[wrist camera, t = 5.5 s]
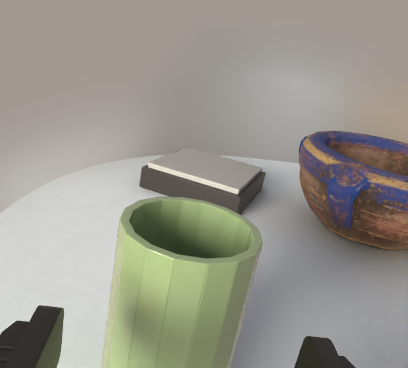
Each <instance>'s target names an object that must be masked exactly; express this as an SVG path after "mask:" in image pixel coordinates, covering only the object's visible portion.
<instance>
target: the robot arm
mask: <svg viewBox="0 0 408 368" xmlns="http://www.w3.org/2000/svg"><path fill="white" fill-rule="evenodd" d="M63 318H64V309H63V308H59V307H50V306H41V305H39V306H38V307H37V309H36V311H35V312H34V314H33V316H32V318H31V320H30V322H25V321H16V322H14V323H13V324H12V325H11V326H9V327H8V328H7V329H5V330H4V331H3V332H2V333H1V335H0V368H56V367H57V364H58V361H59V357H60V352H61V344H62V331H63ZM294 368H355V367H354V366H353V365H352V364H351V363H350V362H349V361H348V360H347V359H346V357H345V356H339V355H338V353H337V351H336V349H335V347H334V345H333V343H332V341H331V340H330V339H328V338H320V337H311V336H307V337H305V339H304V341H303V344H302V347H301V349H300V352H299V355H298V358H297V361H296V364H295V367H294Z"/></svg>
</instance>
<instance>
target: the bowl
mask: <svg viewBox="0 0 408 368" xmlns="http://www.w3.org/2000/svg"><path fill="white" fill-rule="evenodd" d="M299 155H300V156H299V162H300V184H301V187H302V190H303V193H304V196H305V198H306V200H307V202H308V204H309V206H310V208H311V210H312V211H313V212H314V213H315V214H316V215H317V217H318V218H319V219H320V220H321V222H322V223H323V224H324V225H325V226H326V227H327V228H328V229H329V230H331V231H333V232H334V233H336V234H338V235H341V236H343V237H345V238H347V239H350V240H353V241H356V242H359V243H363V244H367V245H371V246H375V247H379V248H383V249H387V250H402V249H408V144H407V143H403V142H399V141H395V140H390V139H386V138H382V137H376V136H371V135H365V134H358V133H352V132H341V131H327V132H316V133H314V134H312V135H309V136H307V137H305V138H304V139H303V140H302V141H301V143H300V148H299Z"/></svg>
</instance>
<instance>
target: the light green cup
mask: <svg viewBox="0 0 408 368" xmlns="http://www.w3.org/2000/svg"><path fill="white" fill-rule="evenodd" d="M262 245H263V241H262V238H261V235H260V232H259V230H258V229H257V228H256V227H255V226H254V225H253V224H252V223H251V222H250V221H249V220H248V219H246V218H245V217H243V216H241V215H239V214H237V213H236V212H234V211H232V210H230V209H228V208H225V207H222V206H219V205H216V204H213V203H210V202H207V201H202V200H196V199H190V198H184V197H156V198H150V199H145V200H140V201H137V202H136V203H134V204H132V205H130V206H128V207H126V208H125V209H124V211H123V213H122V216H121V218H120V220H119V228H118V236H117V245H116V253H115V261H114V270H113V278H112V286H111V294H110V303H109V311H108V319H107V328H106V336H105V344H104V352H103V361H102V368H230V367H231V363H232V359H233V356H234V352H235V348H236V344H237V340H238V337H239V333H240V329H241V325H242V321H243V317H244V314H245V310H246V306H247V302H248V298H249V295H250V291H251V287H252V283H253V279H254V275H255V272H256V268H257V264H258V260H259V256H260V253H261V249H262Z"/></svg>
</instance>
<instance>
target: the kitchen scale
mask: <svg viewBox="0 0 408 368" xmlns="http://www.w3.org/2000/svg"><path fill="white" fill-rule="evenodd" d="M265 174H266V173H265V172H262V168H260V167H256V166H253V165H249V164H245V163H242V162H238V161H235V160H231V159H227V158H224V157H220V156H217V155H213V154H209V153H206V152H202V151H199V150H195V149H192V148H184V149H182V150H179V151H177V152H174V153H172V154H169V155H166V156H164V157H161V158H159V159H156V160H154V161H151V162H149V164H148V165H146V166H144V167H142V171H141V178H140V187H143V188H146V189H149V190H152V191H155V192H159V193H162V194H165V195H168V196H171V197H184V198H190V199H196V200H202V201H207V202H210V203H213V204H216V205H219V206H222V207H225V208H228V209H230V210H232V211H234V212H236V213H237V214H240V213H241V212H242V211H243V210H244V208H245V207H246V206H247V205H248V204H249V203H250V202H251V200H252V199H253V198H254V197H255V196H256V195H257V194H258V193H259V191H260V190H261V189H262V186H263V182H264V178H265Z"/></svg>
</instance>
